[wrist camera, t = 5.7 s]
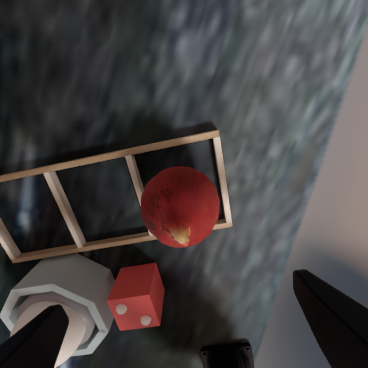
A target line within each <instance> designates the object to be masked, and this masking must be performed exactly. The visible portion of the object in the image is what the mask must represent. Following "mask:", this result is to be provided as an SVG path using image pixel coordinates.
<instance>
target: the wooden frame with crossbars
mask: <svg viewBox="0 0 368 368" xmlns="http://www.w3.org/2000/svg"><path fill="white" fill-rule="evenodd" d="M211 138H213V144H214V151H215V157H216V164H217V170H218V177H219V183H220V190H221V196H222V203H223V209H224V216H225V219H220V220H217V222H216V224H215V226H214V227H213V229H212V230H215V229H221V228H227V227H232V220H231V213H230V206H229V199H228V192H227V185H226V178H225V171H224V164H223V157H222V150H221V143H220V135H219V130H213V131H209V132H204V133H199V134H194V135H190V136H185V137H180V138H175V139H171V140H166V141H161V142H156V143H152V144H147V145H142V146H137V147H133V148H128V149H123V150H118V151H114V152H109V153H104V154H99V155H94V156H90V157H85V158H80V159H75V160H71V161H66V162H61V163H56V164H52V165H47V166H42V167H37V168H33V169H28V170H23V171H18V172H14V173H9V174H4V175H0V182H3V181H8V180H13V179H18V178H22V177H27V176H32V175H37V174H42V173H43V174H44V176H45V178H46V181H47V183H48V185H49V187H50V189H51V191H52V193H53V196H54V198H55V200H56V202H57V204H58V206H59V208H60V211H61V213H62V215H63V217H64V219H65V221H66V223H67V226H68V228H69V230H70V232H71V234H72V236H73V239H74V241H75V243H76V244H74V245H68V246H62V247H56V248H50V249H44V250H39V251H33V252H27V253H21V252H20V251H19V249H18V247H17V246H16V244H15V242H14V240H13V239H12V237H11V235H10V234H9V232H8V230H7V229H6V227H5V225H4V223H3V222H2V220H1V218H0V243H1V245H2V246H3V248H4V250H5V251H6V253H7V254H8V256H9V258H10V259H11V261H12V262H13V263H17V262H23V261H29V260H35V259H41V258H47V257H53V256H59V255H65V254H71V253H77V252H83V251H89V250H95V249H101V248H107V247H113V246H119V245H125V244H131V243H137V242H143V241H149V240H155V239H157V238H156V237H155V236H154V235H153V234H151V233H150V232H149V230H148V232H144V233H138V234H132V235H126V236H121V237H115V238H109V239H103V240H97V241H91V242H86V240H85V238H84V236H83V233H82V231H81V229H80V227H79V224H78V222H77V220H76V218H75V215H74V213H73V211H72V209H71V206H70V204H69V202H68V200H67V197H66V195H65V193H64V191H63V188H62V186H61V184H60V182H59V179H58V177H57V175H56V172H55V171H56V170H61V169H66V168H71V167H76V166H80V165H85V164H90V163H95V162H100V161H105V160H110V159H114V158H119V157H124V156H125V158H126V161H127V164H128V168H129V171H130V174H131V177H132V180H133V184H134V187H135V190H136V193H137V197H138V200H139V203H140V206H141V195H142V193H143V191H144V188H143V185H142V181H141V178H140V175H139V171H138V168H137V165H136V161H135V158H134V154H139V153H143V152H148V151H153V150H158V149H163V148H168V147H172V146H177V145H182V144H187V143H192V142H197V141H201V140H206V139H211Z"/></svg>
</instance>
